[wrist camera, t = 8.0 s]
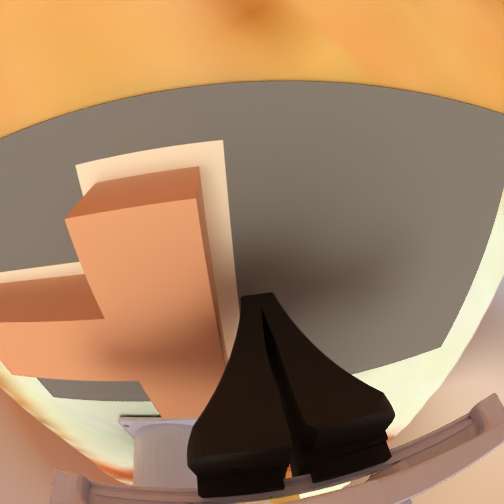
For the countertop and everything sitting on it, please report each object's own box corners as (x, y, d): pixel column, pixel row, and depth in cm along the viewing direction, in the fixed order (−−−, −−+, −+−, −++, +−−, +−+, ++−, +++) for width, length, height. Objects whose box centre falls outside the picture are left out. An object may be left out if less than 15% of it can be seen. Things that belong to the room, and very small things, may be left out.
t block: (230, 370, 17) (235, 414, 14) (57, 375, 16) (47, 411, 13) (198, 166, 10) (196, 198, 8) (-33, 217, 9) (-67, 251, 7)
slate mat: (438, 343, 20) (440, 346, 20) (54, 393, 18) (53, 397, 17) (510, 116, 10) (515, 118, 10) (-66, 174, 8) (-71, 177, 8)
